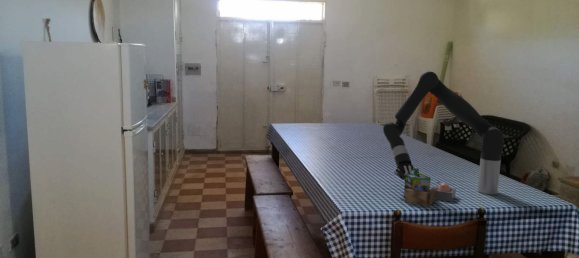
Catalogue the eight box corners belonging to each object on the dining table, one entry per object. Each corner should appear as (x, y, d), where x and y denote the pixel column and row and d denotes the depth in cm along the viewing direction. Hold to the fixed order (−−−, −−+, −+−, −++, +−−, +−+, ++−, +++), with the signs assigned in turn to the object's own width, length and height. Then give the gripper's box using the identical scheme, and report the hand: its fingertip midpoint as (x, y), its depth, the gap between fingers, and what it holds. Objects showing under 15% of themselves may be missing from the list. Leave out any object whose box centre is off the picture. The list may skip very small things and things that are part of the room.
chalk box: (429, 201, 200) (432, 171, 198) (411, 202, 199) (413, 171, 196) (420, 196, 209) (423, 166, 207) (403, 196, 208) (405, 166, 206)
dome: (450, 195, 208) (451, 183, 207) (448, 198, 203) (449, 185, 203) (438, 193, 211) (439, 181, 210) (436, 196, 206) (437, 183, 205)
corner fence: (435, 200, 203) (436, 187, 202) (429, 206, 193) (430, 193, 192) (411, 196, 209) (412, 184, 208) (404, 201, 199) (405, 189, 198)
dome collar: (455, 196, 209) (455, 188, 208) (451, 201, 201) (452, 193, 201) (436, 193, 213) (436, 185, 213) (431, 198, 206) (432, 190, 205)
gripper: (392, 152, 213) (402, 183, 203) (416, 152, 216) (427, 182, 207) (386, 160, 219) (396, 190, 209) (410, 159, 222) (420, 189, 212)
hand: (411, 186), depth 208 cm, fingers closed
